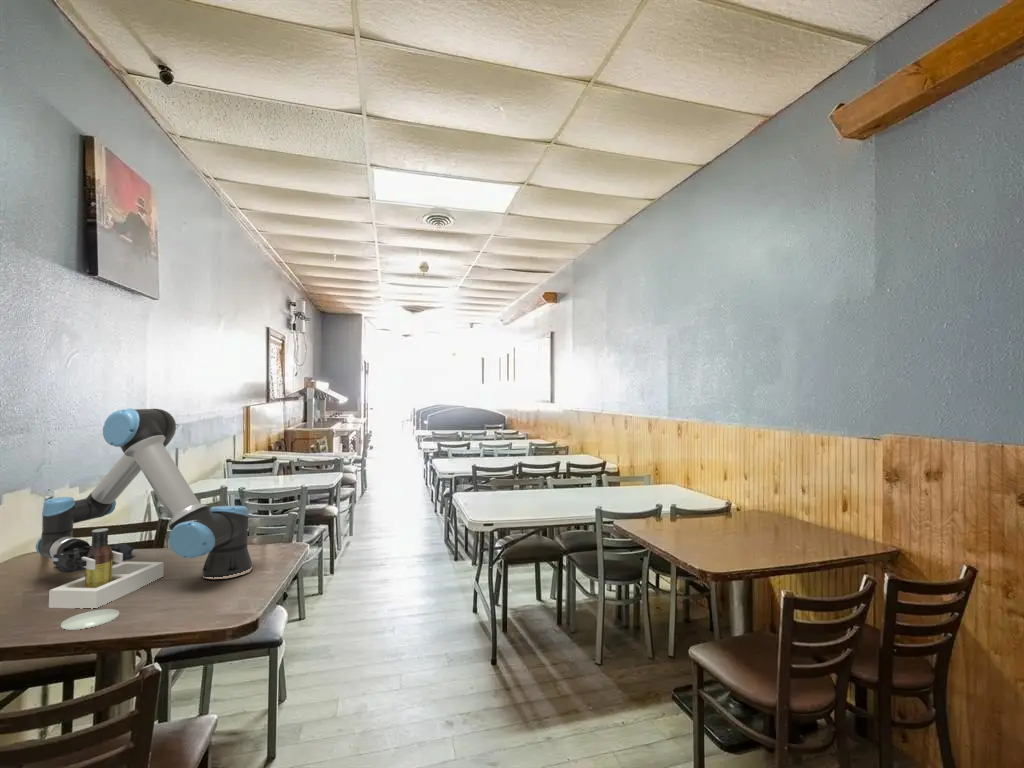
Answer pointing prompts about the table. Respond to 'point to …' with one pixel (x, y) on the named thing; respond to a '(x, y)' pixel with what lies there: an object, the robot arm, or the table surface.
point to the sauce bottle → (99, 560)
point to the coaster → (90, 619)
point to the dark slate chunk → (126, 553)
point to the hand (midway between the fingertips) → (107, 561)
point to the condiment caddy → (106, 586)
